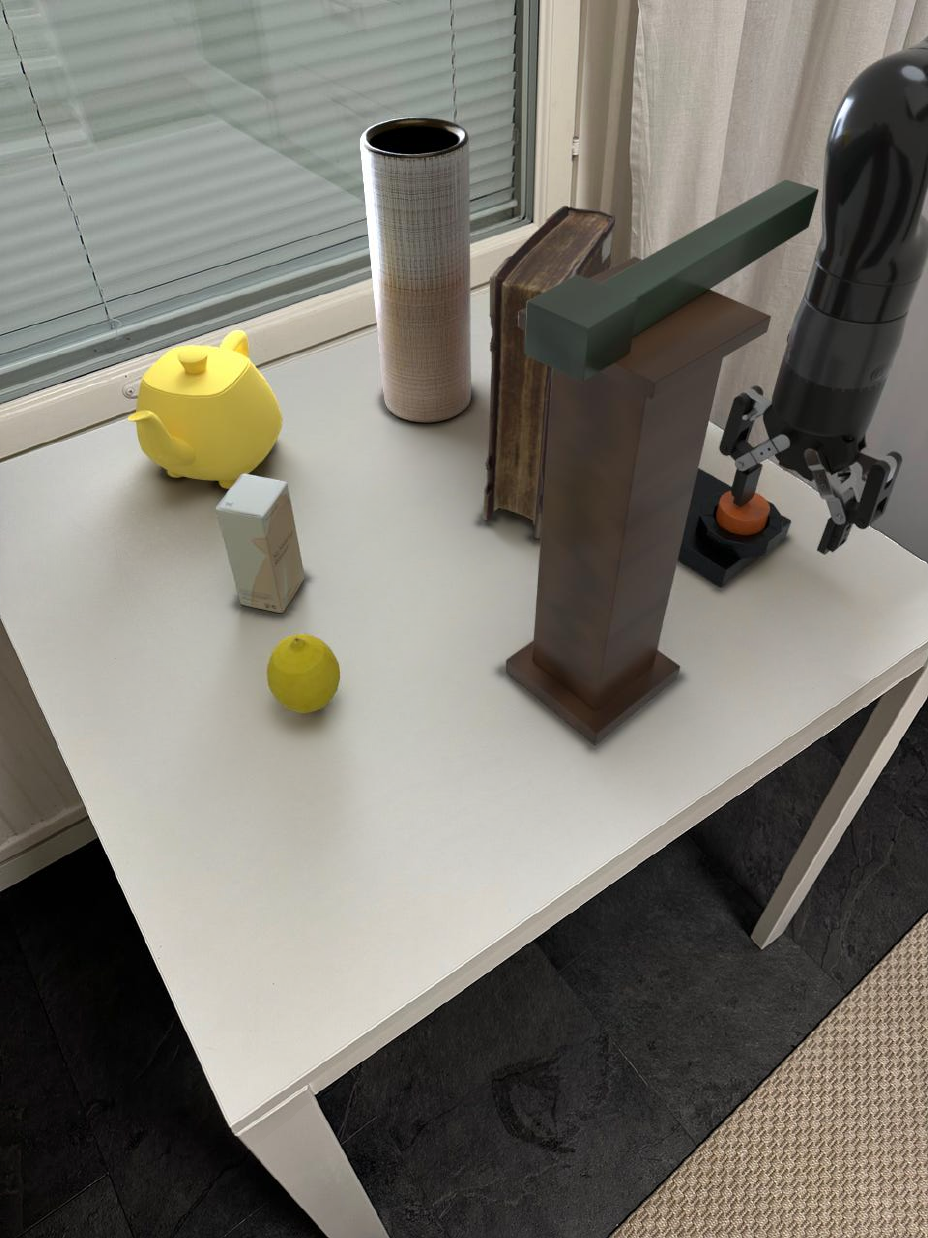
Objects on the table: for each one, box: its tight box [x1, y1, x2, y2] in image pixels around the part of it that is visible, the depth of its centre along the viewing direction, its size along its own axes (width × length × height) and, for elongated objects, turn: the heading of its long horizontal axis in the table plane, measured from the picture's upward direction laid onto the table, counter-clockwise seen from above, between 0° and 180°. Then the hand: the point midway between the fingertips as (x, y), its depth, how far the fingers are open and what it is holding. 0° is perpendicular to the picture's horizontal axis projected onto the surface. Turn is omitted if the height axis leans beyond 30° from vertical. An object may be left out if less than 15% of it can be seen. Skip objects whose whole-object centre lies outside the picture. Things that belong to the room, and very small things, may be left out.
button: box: [716, 491, 770, 535], centre depth 80 cm, size 4×4×2 cm
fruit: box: [266, 633, 341, 714], centre depth 69 cm, size 6×6×8 cm
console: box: [677, 467, 792, 588], centre depth 84 cm, size 13×10×4 cm
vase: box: [360, 116, 472, 424], centre depth 91 cm, size 10×10×28 cm
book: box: [482, 205, 616, 539], centre depth 81 cm, size 17×7×25 cm, turn 150°
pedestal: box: [505, 256, 772, 746], centre depth 62 cm, size 10×10×32 cm
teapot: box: [126, 329, 284, 490], centre depth 89 cm, size 13×20×12 cm
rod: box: [525, 179, 820, 382], centre depth 51 cm, size 4×24×3 cm, turn 136°
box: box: [215, 473, 306, 614], centre depth 77 cm, size 5×4×11 cm
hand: (783, 524), depth 77 cm, fingers open, 8 cm apart
